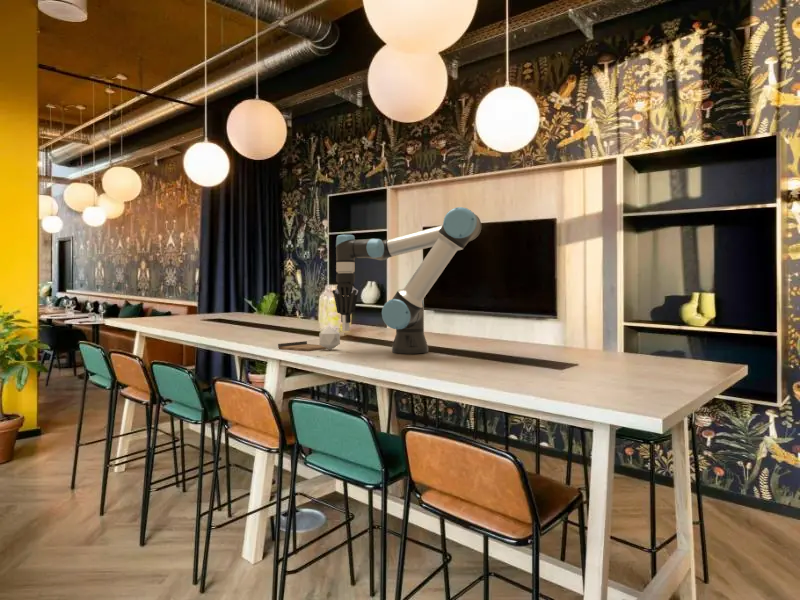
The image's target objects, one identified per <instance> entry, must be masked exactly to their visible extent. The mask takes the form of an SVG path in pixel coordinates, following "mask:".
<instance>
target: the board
mask: <svg viewBox="0 0 800 600" xmlns="http://www.w3.org/2000/svg"><path fill="white" fill-rule="evenodd" d="M277 346H278V347H277V349H278V348H279V349H278V350H286V351H287V350H288V351H300V352H301V351H302V352H312V351H321V350H322V351H323V350H327V349H326V348H325V347H323V346H321V345H320V344H311V343H308V341H307V340H306V341H305V340H304V341H296V342H295V341H293V342H285V343H277Z"/></svg>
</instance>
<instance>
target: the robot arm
mask: <svg viewBox="0 0 800 600" xmlns="http://www.w3.org/2000/svg"><path fill="white" fill-rule="evenodd" d="M481 230H482V222H481V219H480V217H479V216H478V215H477V214H475V213H474V212H473V211H472V210H471V209H469V208H467V207H460V206H459V207H454V208H452V209H450V210H449V211H448V212H447V213H446V214H445V215H444V218H443V222H442V224H441V225H438V226H434V227H430V228H426V229H422V230H419V231H415V232H412V233H411V232H410V233H407V234H403V235H401V236H395V237H391V238H388V239H384V240H382V239H380V238H366V239H363V238H362V239H355V238H356V237H355V235H353V234H340V235H337V236H336V240H335V248H336V249H335V254H336V256H335V257H336V258H335V260H336V261H335V262H336V265H335V268H336V269H335V271H336V276H335V277H336V278H335V279H336V280H335V281H336V284H337V285H336V289H333V290H332V294H333V296H334V302H335V308H336V313H337V314H339V315H340V316H341V318H340V319H341V320H340V321H341V324H342V325H341V327H342V329H341V330H342V332H348V331H350V323H351V319H352V318H351V316H352V314H355V311H356V307H357V300H358V296H359V294H360V290H359V289H356V288H355V287H356V286H355V282H356V274H355V271H356V270H355V267H356V266H355V265H356V264H355V262H356V260H355V259H372V260H377V261H386V260H387V259H389V258H392V257H396V256H400V255H403V254H408V253H412V252H417V251H420V250H425V249H428V248H430V250H429V251H428V253H427V254H426V256H425V257H424V258H423V260H422V262H421V263H420V264H419V266H418V267H417V269H416V270H415V272H414V273H413V275H412V276H411V278H410V279H409V280H408V282H407V283H406V285H405V286H404V288H402V289H398V290H397V291H396V292H395V294H394V295H393V297H392V298H391V299H389V300H388V301H386V302H385V303H384V305H383V307H382V309H381V317H382V320H383V322H384V324H385V325H386V326H387V327H388V328H390V329H393V330H395V336H394V339H393V343H392V346H391V352H392V353H394V354H407V355H408V354H409V355H410V354H411V355H412V354H425V353H426V354H427V353H429V346H428V342H427V339H426V336H425V322H424V321H425V320H424V319H425V315H424V314H425V311H424V310H425V309H424V307H425V303H424V298H426V295H428V293H429V292H430V290H431V289H432V287H433V286H434V284H435V283H436V282H437V281H438V279H439V277H440V276H441V275H442V273H443V272H444V270H445V268H446V267H447V266H448V264H450V262H451V260H452V259H453V257H454V256H455V254H456V253H457V252H458V251H461V250H464V248H465V247H466V246H467V244H468V243H469V242H471V241H473V240H475V239H476V238H477V237H479V235H480V233H481V232H482V231H481Z"/></svg>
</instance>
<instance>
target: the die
mask: <svg viewBox="0 0 800 600" xmlns="http://www.w3.org/2000/svg"><path fill="white" fill-rule="evenodd" d="M318 334H319V336H318V337H319V339H318V340H319V342H318V343H319V344H318V345H321V346H323V347H325V348H326V349H325V350H328V351H331V350H332V349H333V350H334V349H335V348H336V347H337V346H340V345H341V333H340V332H339V331H338V330H336V329H335V328H332V327H331V326H328V327H327V328H325V329H324V330H322V331H320V332H319V333H318Z"/></svg>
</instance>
